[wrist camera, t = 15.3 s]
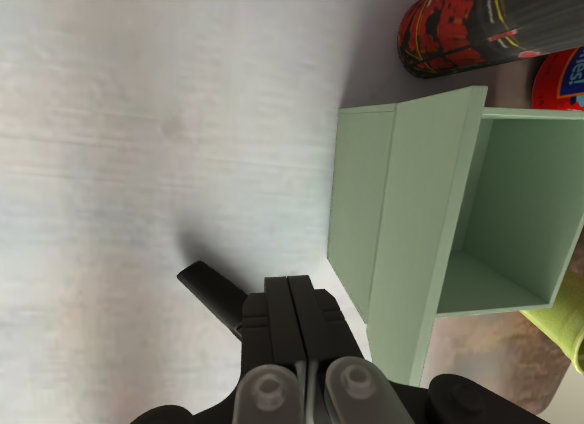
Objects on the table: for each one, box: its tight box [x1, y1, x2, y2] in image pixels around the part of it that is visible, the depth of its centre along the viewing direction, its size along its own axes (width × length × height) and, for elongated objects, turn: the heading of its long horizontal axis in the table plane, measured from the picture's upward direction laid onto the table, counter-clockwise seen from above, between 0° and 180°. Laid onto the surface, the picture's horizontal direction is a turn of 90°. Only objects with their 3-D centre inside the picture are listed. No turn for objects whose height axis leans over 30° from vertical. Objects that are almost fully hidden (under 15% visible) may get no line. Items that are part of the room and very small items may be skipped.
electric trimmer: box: [177, 261, 248, 342], centre depth 26 cm, size 4×16×3 cm, turn 36°
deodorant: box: [397, 0, 584, 79], centre depth 15 cm, size 6×6×15 cm
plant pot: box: [520, 270, 584, 375], centre depth 29 cm, size 9×9×9 cm
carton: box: [327, 103, 584, 324], centre depth 22 cm, size 15×14×9 cm
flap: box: [366, 86, 488, 387], centre depth 12 cm, size 7×14×1 cm
